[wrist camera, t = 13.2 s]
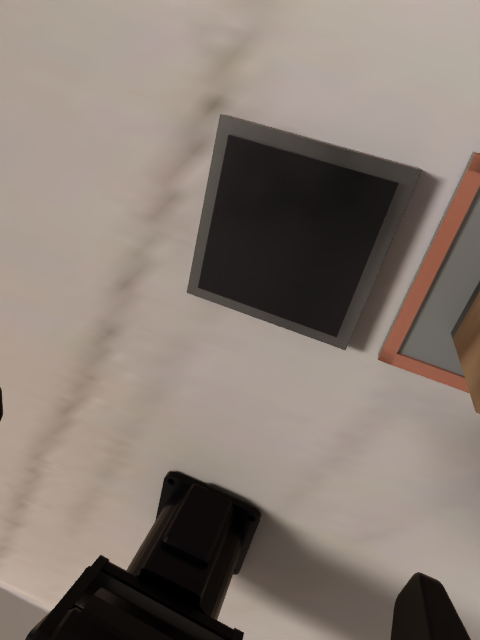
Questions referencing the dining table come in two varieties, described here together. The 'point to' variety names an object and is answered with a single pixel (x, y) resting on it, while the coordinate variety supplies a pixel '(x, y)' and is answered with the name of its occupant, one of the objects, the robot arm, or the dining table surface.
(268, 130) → the pad
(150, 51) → the dining table surface
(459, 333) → the stamp
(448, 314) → the tile
